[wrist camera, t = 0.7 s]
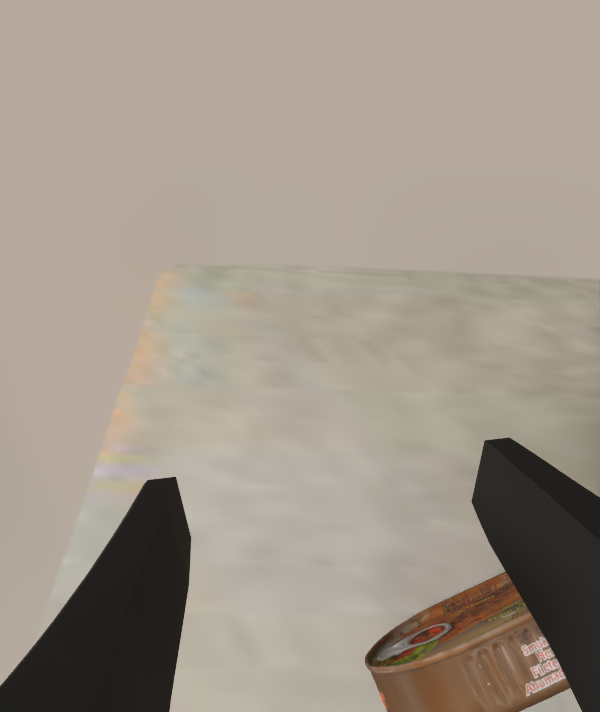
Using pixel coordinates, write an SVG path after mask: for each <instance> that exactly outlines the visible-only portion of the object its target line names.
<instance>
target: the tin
mask: <svg viewBox="0 0 600 712" xmlns="http://www.w3.org/2000/svg"><path fill="white" fill-rule="evenodd" d="M365 664H366V666H367V668H368V669H369V670H370V671H371V673H372V676H373V678H374V680H375V683H376V685H377V688H378V690H379V693H380V695H381V698H382V701H383V703H384V705H385V707H386V709H387V712H519V711H521V710H524V709H526V708H528V707H531V706H533V705H535V704H537V703H539V702H541V701H543V700H546V699H548V698H550V697H552V696H554V695H556V694H558V693H560V692H562V691H565V690H567V689H569V688H571V687H570V685H569V683H568V681H567V679H566V677H565V675H564V673H563V671H562V669H561V667H560V664H559V662H558V661H557V659H556V657H555V655H554V653H553V651H552V649H551V648H550V646H549V644H548V642H547V640H546V639H545V637H544V635H543V633H542V632H541V630H540V628H539V627H538V625H537V623H536V622H535V620H534V618H533V617H532V615H531V613H530V611H529V610H528V608H527V606H526V605H525V603H524V601H523V600H522V598H521V596H520V595H519V593H518V591H517V589H516V588H515V586H514V584H513V583H512V581H511V579H510V578H509V576H508V574H507V573H506V572H504V573H502V574H500V575H498V576H496V577H494V578H491V579H489V580H487V581H485V582H483V583H481V584H479V585H476V586H474V587H472V588H470V589H468V590H466V591H463V592H461V593H459V594H457V595H455V596H453V597H451V598H449V599H447V600H444V601H442V602H440V603H438V604H436V605H434V606H432V607H430V608H428V609H426V610H424V611H422V612H420V613H418V614H417V615H415V616H413V617H412V618H410V619H408V620H406V621H405V622H403V623H402V624H400V625H398V626H397V627H395V628H394V629H393V630H391V631H390V632H389V633H387V634H386V635H385V636H383V637H382V638H381V639H380V640H379V641H378V642H377V643H376V644H375V645H374V646H373V647H372V648H371V650H370V651H369V652H368V653H367V655H366V657H365Z"/></svg>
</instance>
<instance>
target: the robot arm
mask: <svg viewBox="0 0 600 712" xmlns="http://www.w3.org/2000/svg"><path fill="white" fill-rule="evenodd" d="M472 504H473V506H474V509H475V511H476V513H477V516H478V518H479V521H480V523H481V525H482V528H483V530H484V532H485V534H486V536H487V539H488V541H489V543H490V545H491V546H492V548H493V550H494V552H495V554H496V555H497V557H498V559H499V560H500V562H501V564H502V566H503V567H504V569H505V571H506V573H507V574H508V576H509V578H510V579H511V581H512V583H513V584H514V586H515V588H516V589H517V591H518V593H519V595H520V596H521V598H522V600H523V601H524V603H525V605H526V606H527V608H528V610H529V611H530V613H531V615H532V617H533V618H534V620H535V622H536V623H537V625H538V627H539V628H540V630H541V632H542V633H543V635H544V637H545V639H546V640H547V642H548V644H549V646H550V648H551V649H552V651H553V653H554V655H555V657H556V659H557V661H558V662H559V664H560V667H561V669H562V671H563V673H564V675H565V677H566V679H567V681H568V683H569V685H570V687H571V689H572V691H573V694H574V696H575V698H576V700H577V702H578V704H579V706H580V708H581V710H582V712H600V497H598V496H597V495H595V494H593V493H592V492H590V491H589V490H587V489H586V488H584V487H583V486H581V485H580V484H578V483H577V482H575V481H574V480H572V479H571V478H569V477H568V476H566V475H565V474H563V473H562V472H560V471H559V470H558V469H556V468H555V467H553V466H552V465H550V464H549V463H547V462H546V461H544V460H543V459H541V458H540V457H538V456H537V455H535V454H534V453H532V452H531V451H529V450H528V449H526V448H525V447H523V446H522V445H520V444H519V443H517V442H515V441H514V440H512V439H511V438H503V439H494V440H486V441H485V442H484V446H483V451H482V456H481V460H480V465H479V470H478V474H477V479H476V484H475V488H474V493H473V498H472ZM190 550H191V536H190V532H189V528H188V524H187V520H186V516H185V512H184V508H183V504H182V500H181V496H180V492H179V488H178V484H177V480H176V477H171V478H162V479H154V480H148V481H147V482H146V483H145V484H144V485H143V487H142V489H141V490H140V492H139V494H138V496H137V497H136V499H135V501H134V502H133V504H132V506H131V507H130V509H129V511H128V512H127V514H126V516H125V517H124V519H123V520H122V522H121V524H120V525H119V527H118V528H117V530H116V532H115V533H114V535H113V536H112V538H111V539H110V541H109V542H108V544H107V545H106V547H105V548H104V550H103V551H102V553H101V555H100V556H99V558H98V559H97V561H96V562H95V564H94V565H93V567H92V568H91V570H90V571H89V572H88V574H87V575H86V577H85V578H84V580H83V581H82V582H81V584H80V585H79V586H78V588H77V589H76V591H75V592H74V593H73V595H72V596H71V597H70V599H69V600H68V602H67V603H66V604H65V606H64V607H63V608H62V610H61V611H60V613H59V614H58V615H57V617H56V618H55V619H54V621H53V622H52V623H51V624H50V626H49V627H48V628H47V630H46V631H45V632H44V633H43V635H42V636H41V637H40V639H39V640H38V641H37V642H36V644H35V645H34V646H33V647H32V649H31V650H30V651H29V652H28V654H27V655H26V656H25V657H24V658H23V660H22V661H21V662H20V663H19V664H18V666H17V667H16V668H15V669H14V671H13V672H12V673H11V674H10V675H9V676H8V678H7V679H6V680H5V681H4V682H3V683H2V685H1V686H0V712H169V710H170V702H171V695H172V688H173V682H174V676H175V669H176V663H177V657H178V650H179V644H180V638H181V632H182V625H183V619H184V612H185V606H186V599H187V593H188V586H189V571H190Z"/></svg>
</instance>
